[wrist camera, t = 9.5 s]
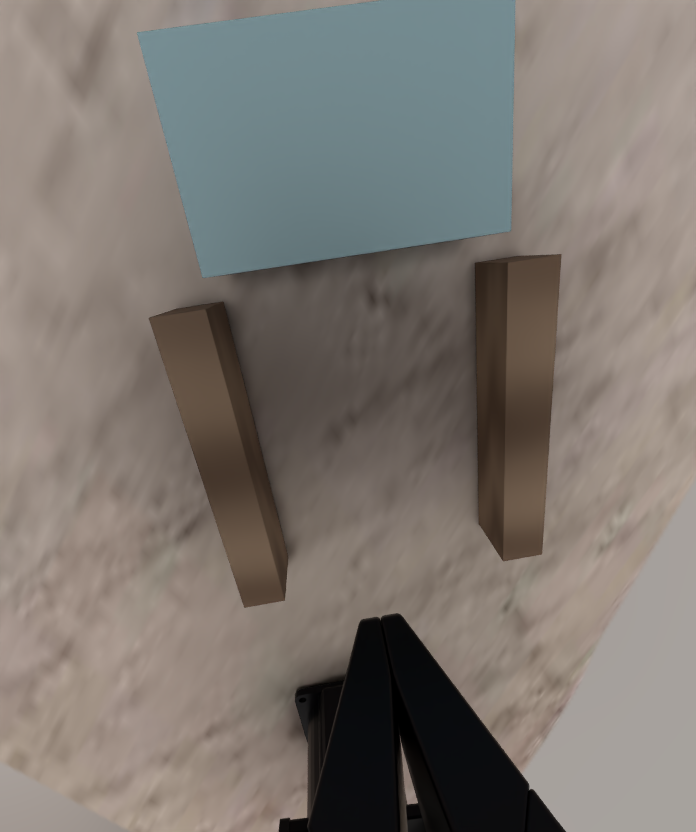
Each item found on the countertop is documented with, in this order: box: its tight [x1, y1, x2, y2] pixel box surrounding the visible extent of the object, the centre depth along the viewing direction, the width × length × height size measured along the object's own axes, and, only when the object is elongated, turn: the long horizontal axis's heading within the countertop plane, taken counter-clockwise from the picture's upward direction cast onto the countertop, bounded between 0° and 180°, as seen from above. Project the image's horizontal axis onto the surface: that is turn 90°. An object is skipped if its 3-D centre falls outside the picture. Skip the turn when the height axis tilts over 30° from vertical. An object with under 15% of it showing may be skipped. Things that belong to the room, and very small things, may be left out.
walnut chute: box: [149, 254, 561, 608], centre depth 18 cm, size 14×15×3 cm
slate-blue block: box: [137, 0, 515, 278], centre depth 13 cm, size 6×10×4 cm, turn 98°
